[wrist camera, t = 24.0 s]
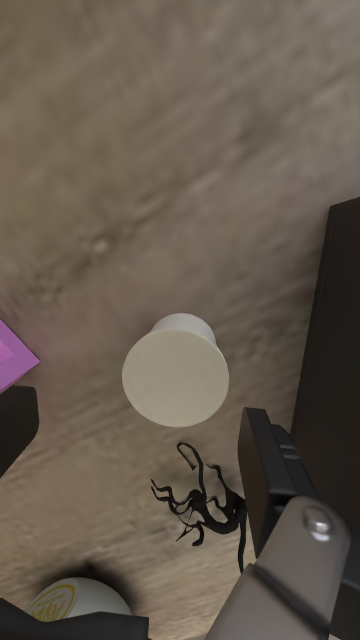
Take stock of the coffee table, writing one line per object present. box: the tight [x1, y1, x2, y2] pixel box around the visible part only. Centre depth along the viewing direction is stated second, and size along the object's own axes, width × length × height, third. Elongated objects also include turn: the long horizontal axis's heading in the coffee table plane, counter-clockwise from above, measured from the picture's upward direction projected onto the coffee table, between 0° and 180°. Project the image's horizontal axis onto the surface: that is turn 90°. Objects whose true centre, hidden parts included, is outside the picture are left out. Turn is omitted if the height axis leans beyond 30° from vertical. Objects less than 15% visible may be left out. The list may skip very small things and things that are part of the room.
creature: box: [151, 443, 247, 574], centre depth 20 cm, size 8×5×8 cm
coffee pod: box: [122, 313, 229, 427], centre depth 17 cm, size 6×6×5 cm
